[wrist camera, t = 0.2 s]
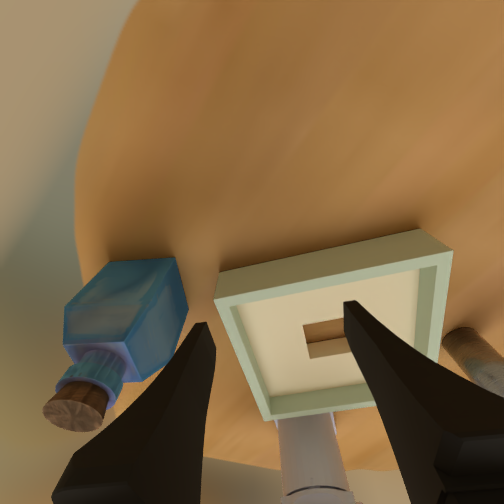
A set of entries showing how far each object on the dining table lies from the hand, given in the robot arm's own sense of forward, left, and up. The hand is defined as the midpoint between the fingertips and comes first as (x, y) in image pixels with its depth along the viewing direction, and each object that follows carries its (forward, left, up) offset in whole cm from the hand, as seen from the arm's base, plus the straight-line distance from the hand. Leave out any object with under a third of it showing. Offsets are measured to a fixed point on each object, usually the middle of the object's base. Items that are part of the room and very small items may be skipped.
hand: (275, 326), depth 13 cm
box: (-11, -4, -10) cm, 15 cm away
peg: (-17, -18, -10) cm, 27 cm away
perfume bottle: (-2, +12, -10) cm, 16 cm away
